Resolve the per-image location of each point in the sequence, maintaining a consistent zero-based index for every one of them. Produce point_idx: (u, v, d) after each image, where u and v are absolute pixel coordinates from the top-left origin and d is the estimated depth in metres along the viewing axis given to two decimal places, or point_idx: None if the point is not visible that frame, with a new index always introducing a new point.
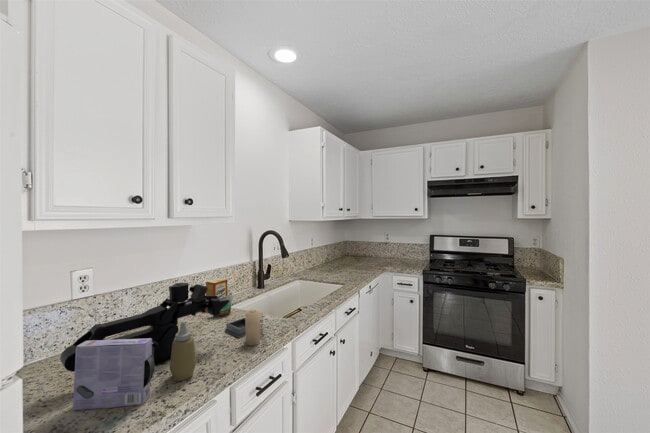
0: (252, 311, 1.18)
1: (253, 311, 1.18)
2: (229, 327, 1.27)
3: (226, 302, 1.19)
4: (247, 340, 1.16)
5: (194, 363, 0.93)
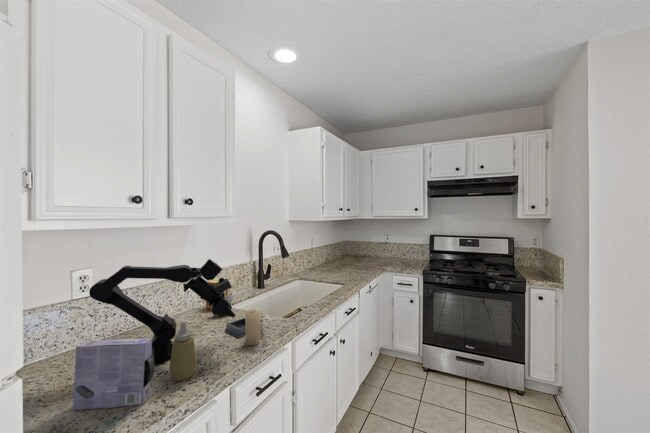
0: (252, 311, 1.18)
1: (253, 311, 1.18)
2: (229, 327, 1.27)
3: (231, 314, 1.10)
4: (247, 340, 1.16)
5: (194, 363, 0.93)
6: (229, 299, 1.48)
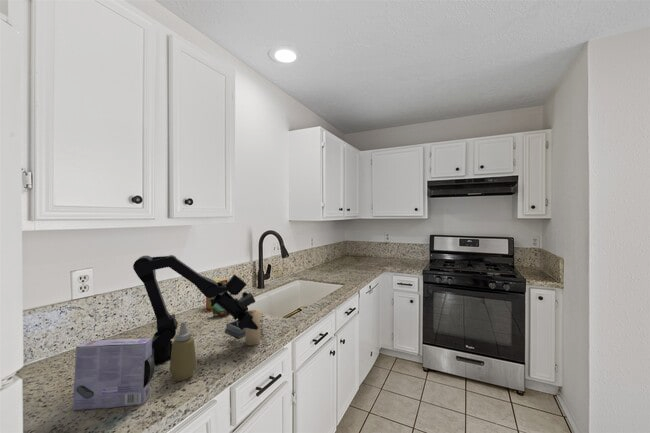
0: (252, 311, 1.18)
1: (253, 311, 1.18)
2: (229, 327, 1.27)
3: (254, 327, 1.15)
4: (247, 340, 1.16)
5: (194, 363, 0.93)
6: None
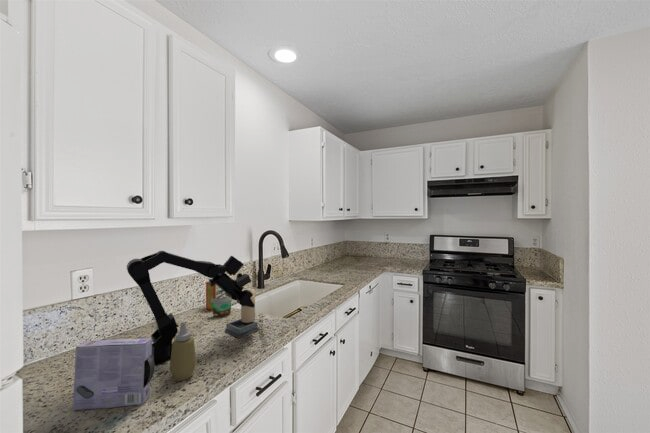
0: (248, 290, 1.24)
1: (249, 290, 1.25)
2: (229, 327, 1.27)
3: (251, 305, 1.22)
4: (244, 318, 1.22)
5: (194, 363, 0.93)
6: (229, 299, 1.48)
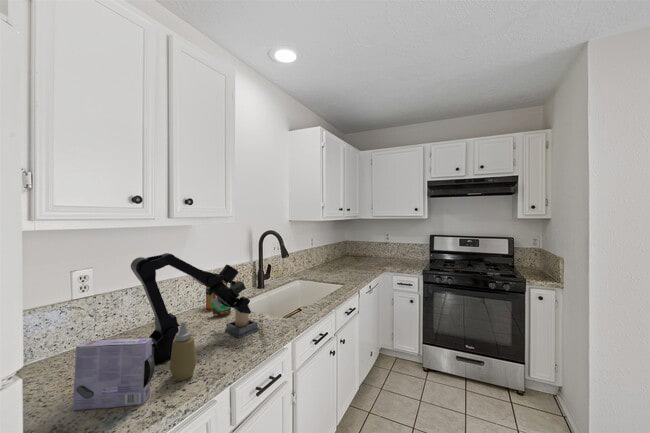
0: None
1: None
2: (229, 327, 1.27)
3: (248, 311, 1.26)
4: (239, 327, 1.27)
5: (194, 363, 0.93)
6: None
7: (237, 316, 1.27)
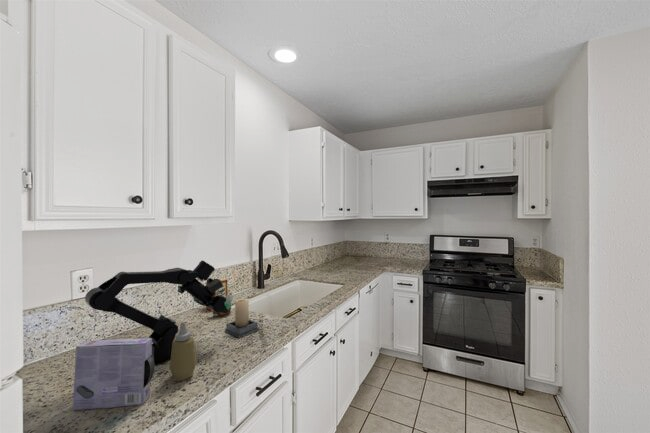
0: (241, 300, 1.29)
1: (242, 300, 1.29)
2: (229, 327, 1.27)
3: (226, 311, 1.18)
4: (239, 327, 1.27)
5: (194, 363, 0.93)
6: (229, 299, 1.48)
7: (237, 316, 1.27)
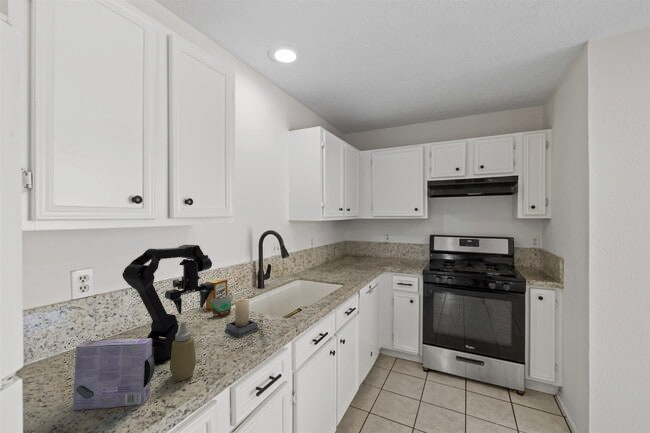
0: (242, 300, 1.29)
1: (242, 300, 1.29)
2: (229, 327, 1.27)
3: None
4: (239, 327, 1.27)
5: (194, 363, 0.93)
6: (229, 299, 1.48)
7: (237, 316, 1.27)
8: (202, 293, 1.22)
